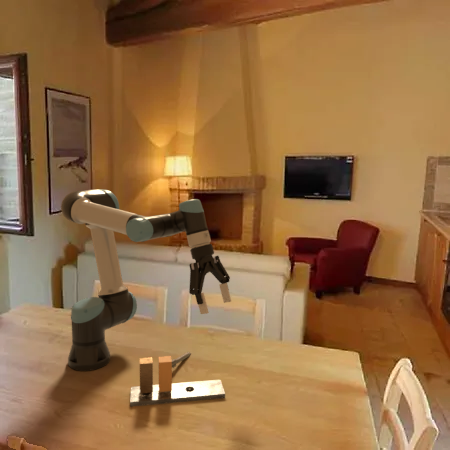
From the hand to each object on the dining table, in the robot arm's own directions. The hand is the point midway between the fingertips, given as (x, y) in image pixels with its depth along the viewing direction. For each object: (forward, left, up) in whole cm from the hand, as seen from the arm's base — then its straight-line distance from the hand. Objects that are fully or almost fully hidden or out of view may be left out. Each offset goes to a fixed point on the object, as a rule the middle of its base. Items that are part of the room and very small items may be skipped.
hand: (216, 307), depth 140 cm
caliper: (-16, -11, -28) cm, 35 cm away
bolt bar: (+4, -13, -28) cm, 31 cm away
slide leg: (+4, -17, -26) cm, 31 cm away
